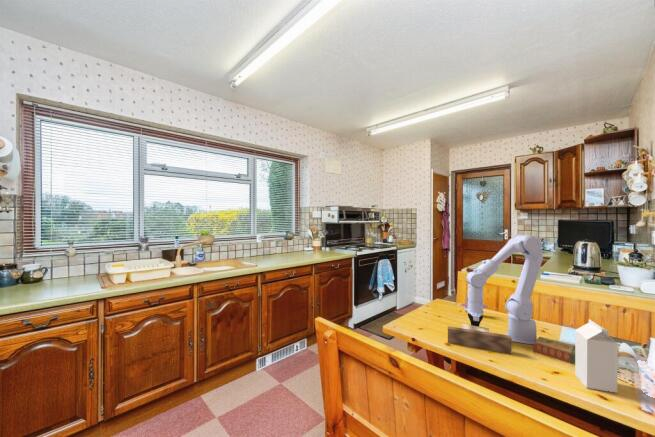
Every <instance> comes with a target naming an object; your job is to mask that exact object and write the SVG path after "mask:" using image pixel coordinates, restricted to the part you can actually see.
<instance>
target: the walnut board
mask: <svg viewBox="0 0 655 437" xmlns="http://www.w3.org/2000/svg"><path fill="white" fill-rule="evenodd" d="M512 342H513V341H512V338H511V336H509V335H506V334H502V333H496V332H495V333H494V332H483V331H476V330H470V329H463V328H461V327H457V326H456V327H454V326H448V325H447V344H451V345H457V346H464V347H470V348H473V349H474V348H475V349H479V350H480V349H481V350H485V351H486V350H487V351H491V352H497V353H503V354H508V355H512V353H513V352H512V350H513V349H512V348H513V347H512V346H513V344H512Z"/></svg>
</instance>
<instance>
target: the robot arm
mask: <svg viewBox="0 0 655 437" xmlns="http://www.w3.org/2000/svg"><path fill="white" fill-rule="evenodd" d="M542 247H543V242H542V241H541V240H540V239H539V238H538V237H537V236H534V235H526V234H522V233H518V234H515V235H513V236H512V238H510V239H508V241H507V242H506V244H505V245H504V246H503V247H502V248H501V249H500V250H498V252H497V253H496V254H495V255H494V256H493V257H492V258H491V259H486V260H482V261H481V264H479V266H477V267H476V268H474V269H473V271H469V272H468V273H467V275H466V276H465V281H466V282H467V297H468V309H467V308H465V307H464V312H465V311H467V317H468V319H469V322H470V325H474V326H479V327H480V324H481V322H482V321H483V317H484V316H483V315H484V308H483V305H484V286H486V285H487V280H488V279H489V278H491V276H493V275H494V273H496V272H497V271H499V265H500V264H502V263H503V262H504V261H506V260H507V259H508V258H510V256H512V255H513V254H514V253H515V254H517V253H522V255H523V257H525V260H524V263H523V266H522V269H521V273H520V276H519V279H518V282H517V285H516V288H515V291H514V293H513V294H511V295H510V296H509V298H508V300H507V301H506V302H505V306H504V308H505V310H506V311H507V313H508V314H507V316H508V317H507V322H508V323H507V326H508V327H507V329H508V330H507V332H505V335H509V336H511V338H512V342H514V343H520V344H526V345H532V346H534V343H535V341H536V340H537V339H538V338H537V334H538V333H537V324H536V321H535V320H534V319H532V318H533V316H534V311H533V308H534V304H533V301H532V299H531V297H532V294H533V292H534V288H535V285H536V282H537V278H538V275H539V273H540V270H541V267H542V263H543V260H544V256H543V255H544V254H543V250H542Z"/></svg>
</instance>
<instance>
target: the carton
mask: <svg viewBox="0 0 655 437" xmlns="http://www.w3.org/2000/svg"><path fill="white" fill-rule="evenodd" d="M533 353H534V354H538V355H540V356H541V355H542V356H545V357H546V358H547V357H548V358H551V359H554V360H557V361H561V362H565V363H567V364H570V365H573V366H575V345H571V344H568V343H563V342H561V341H557V340H554V339H551V338H550V339H549V338H547V337H542V336H538V338H537V340H536V341H535V343H534V345H533Z"/></svg>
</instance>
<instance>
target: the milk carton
mask: <svg viewBox="0 0 655 437" xmlns="http://www.w3.org/2000/svg"><path fill="white" fill-rule="evenodd" d="M574 332H575V334H574V337H575V338H574V339H575V341H574V342H575V345H574V346H575V365H574V366H575V368H574V375H575V376H576V378H577V379H578V380H579V381H580V382H581V383H582V384H583V386H584V387H585V388H586V389H591V390H596V391H597V390H598V391H603V392H608V391H609V392H610V393H614V392H615V393H616V394H617V393H618V368H619V367H618V362H619V360H618V356H619V355H618V349H619V348H618V346H619V345H618V342H617V341H616V340H614V339H613V338H612V337H610V336H609V335H610V334H611V332H610V331H609V330H607V329H606V328H605V327H602V326H600V325H599V324H598V323H596V322H595V321H593V320H591V319H590V318H589V319H588V322H587V323H585V324H583V325H582V326H580V327H578V328H576V329H575V330H574Z"/></svg>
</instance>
